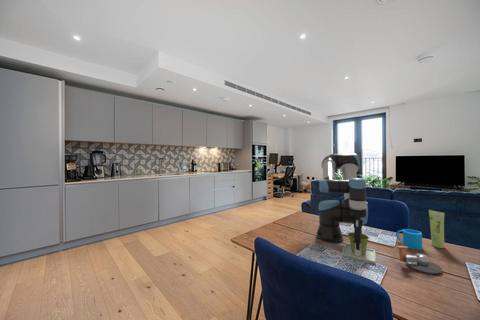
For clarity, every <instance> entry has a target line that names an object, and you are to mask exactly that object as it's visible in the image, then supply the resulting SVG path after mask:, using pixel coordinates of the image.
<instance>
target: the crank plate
mask: <svg viewBox="0 0 480 320" xmlns="http://www.w3.org/2000/svg"><path fill="white" fill-rule="evenodd" d="M404 263H405V265H406V266H407V267H409V268H410V269H412V270H414V271H416V272H420V273H423V274H427V275H435V276H438V274H439V275H441V274H442V273H443V271H442V270H443V269H442V267H441V266H440V265H438V264H437V263H435V262H433V261H430V260H429V266H422V265H419V264H417V263H416V262H404Z"/></svg>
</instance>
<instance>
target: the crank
mask: <svg viewBox="0 0 480 320" xmlns="http://www.w3.org/2000/svg"><path fill="white" fill-rule="evenodd" d="M396 248H397V249H399V251H398V254H399V261H401V262H403V263H405V262H416V263H417V264H419V265H422V266H429V261H430V256H429V255H426V254H424V253H420V252H419V253H415V255H408V254H407V250H409V248H408V247H407V246H404V245H403V246H401V245H397V246H396Z"/></svg>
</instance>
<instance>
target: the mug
mask: <svg viewBox="0 0 480 320" xmlns="http://www.w3.org/2000/svg"><path fill="white" fill-rule="evenodd" d="M399 233H402V238H400V236H399ZM395 236H396V238H397V240H398V241H400V242H401V243H402V245H403V246H407V247H408V249H413V250H423V233H422V231H419V230H415V229H412V228H411V229H410V228H404V229H401V230H400V229H399V230H397V231H396V233H395Z"/></svg>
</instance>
